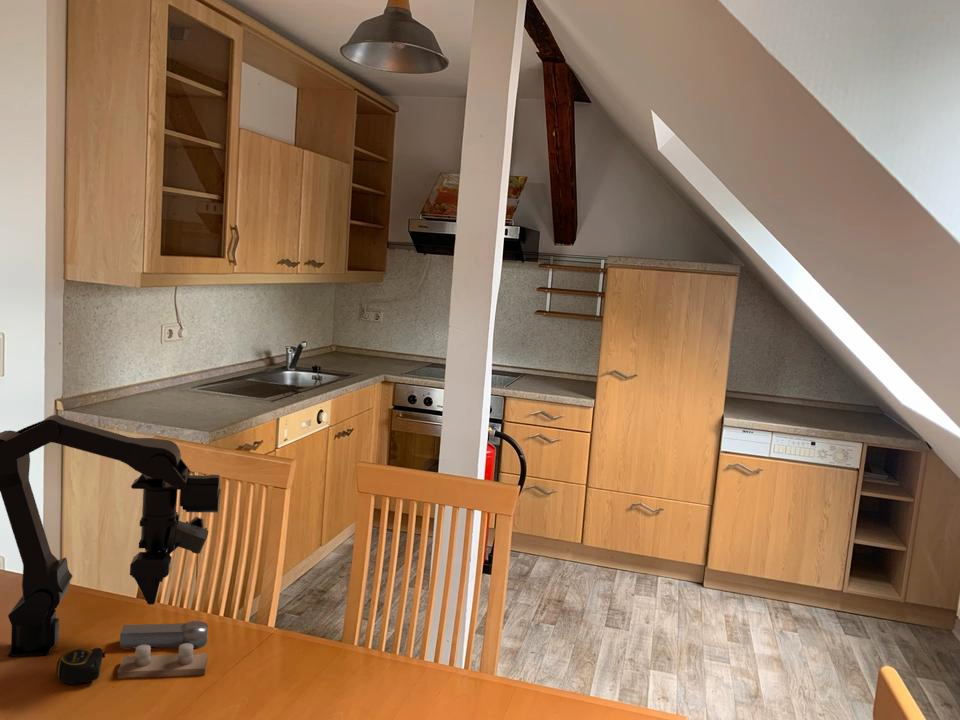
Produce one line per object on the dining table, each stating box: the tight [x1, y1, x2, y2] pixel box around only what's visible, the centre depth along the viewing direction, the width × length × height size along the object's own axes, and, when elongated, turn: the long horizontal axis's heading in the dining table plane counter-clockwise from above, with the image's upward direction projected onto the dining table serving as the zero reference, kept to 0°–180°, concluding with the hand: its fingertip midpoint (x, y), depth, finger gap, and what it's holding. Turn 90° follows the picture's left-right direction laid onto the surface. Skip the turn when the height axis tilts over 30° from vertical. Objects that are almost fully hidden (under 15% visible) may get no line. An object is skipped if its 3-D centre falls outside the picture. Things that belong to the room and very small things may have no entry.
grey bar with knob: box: [119, 620, 209, 649], centre depth 142 cm, size 15×5×3 cm, turn 105°
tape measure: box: [56, 647, 106, 685], centre depth 129 cm, size 7×7×4 cm
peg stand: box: [117, 643, 209, 679], centre depth 134 cm, size 14×5×4 cm, turn 105°
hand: (155, 592), depth 141 cm, fingers open, 9 cm apart
